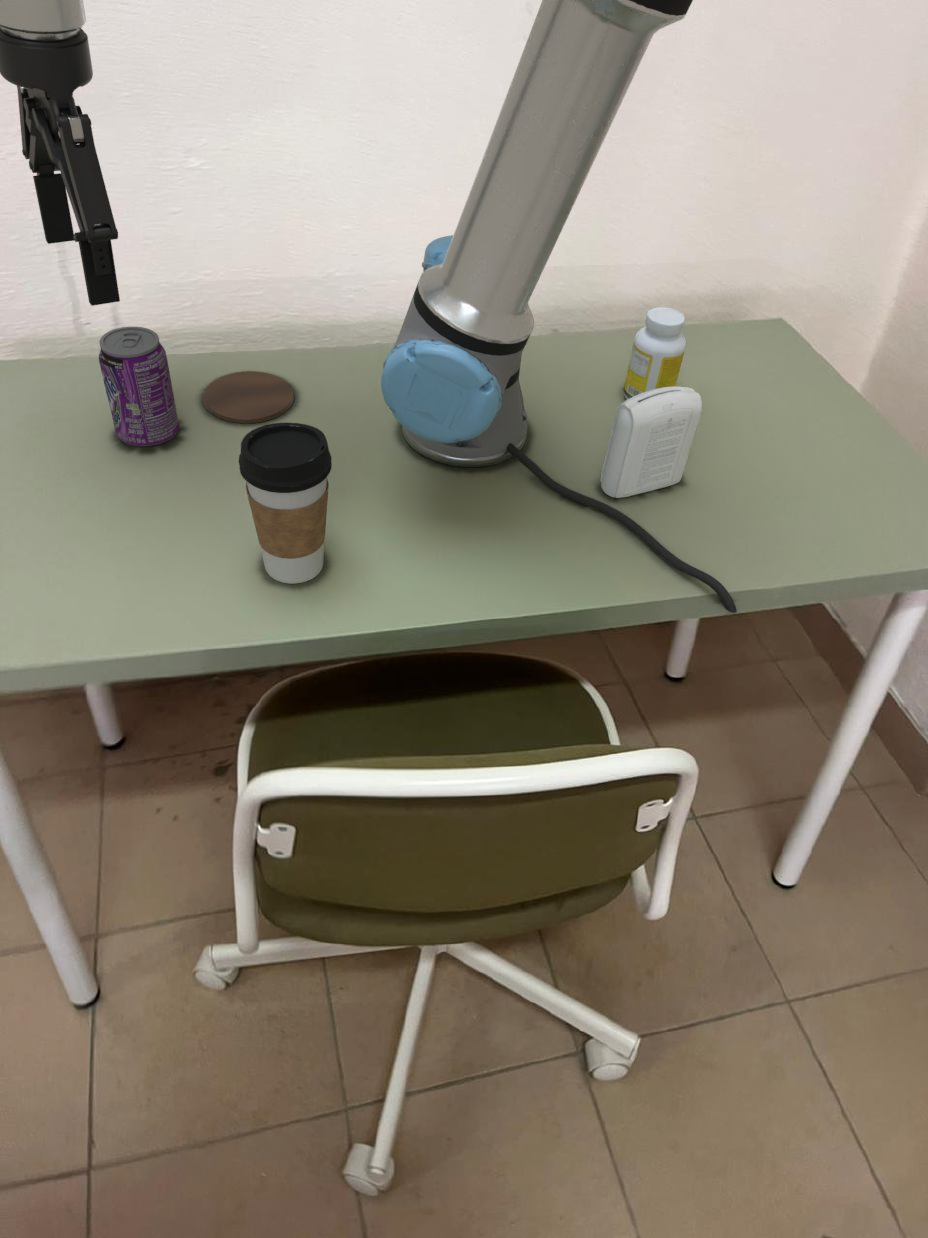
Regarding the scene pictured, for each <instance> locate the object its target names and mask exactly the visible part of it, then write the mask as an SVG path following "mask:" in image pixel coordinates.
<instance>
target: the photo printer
mask: <svg viewBox="0 0 928 1238" xmlns="http://www.w3.org/2000/svg"><path fill="white" fill-rule="evenodd" d="M702 413H703V402H702V397H701V395H700V393H698V392H696V391H695V390H694V388H691V387H687V386H678V385H676V386H675V387H663V388H658V389H653V390H650V391H647V392H644V393H641V394H638V395H636V396H634V397H632V398H630V399H628V400H627V399H626V400H624V401H623V402H621V403H620V404H619V405H618V406H617V408H616V410H615V412H614V416H613V420H612V425H611V429H610V433H609V437H608V441H607V446H606V451H605V454H604V459H603V463H602V468H601V473H600V479H599V481H600V482H601V483H600V487H601V490H602V491H603V492H604V493H605V494H606V495H607V496H609V497H610V498H611V497H612V498H616V499H622V498H627V497H631V496H637V495H639V494H644V493H648V492H651V491H655V490H659V489H663V488H666V487H670V486H673V485H676V484H678V483H680V481H681V480H682V478H683V476H684V472H685V469H686V466H687V465H686V464H687V461H688V458H689V455H690V451H691V448H692V445H693V442H694V439H695V436H696V432H697V429H698V425H699V423H700V419H701V416H702Z"/></svg>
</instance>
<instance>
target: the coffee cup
mask: <svg viewBox="0 0 928 1238" xmlns="http://www.w3.org/2000/svg"><path fill="white" fill-rule="evenodd" d="M332 462H333V461H332V455H331V452H330V447H329V443H328V440H327V437H326V435H325V433H324V432H323V431H322V430H321V429H319V428H318V427H315V426H312V425H309V424H305V423H299V422H273V423H267V424H264V425H260V426H259V427H255V428H254V429H252V430H250V431H249V432H248V433H247V434H246V435H245V436H244V437H243V438H242V440H241V442H240V453H239V456H238V465H239V473H240V475H241V476H242V479H244V480H245V481H246V482H245V491H246V495H247V499H248V503H249V507H250V510H251V511H250V512H251V515H252V519H253V523H254V528H255V531H256V536H257V540H258V544H259V546H260V551H261V555H262V560H263V565H264V569H265V572H266V573H267V575H269V577H270V578H271V579H273V580H274V581H277V582H279V583H282V584H290V585H292V584H294V585H295V584H302V583H306V582H308V581H310V580H313V579H314V578H316V577H317V576H318V575H319V574H320V573H321V571H322V570H323V567H324V557H325V556H324V555H325V539H326V530H327V529H326V526H327V514H328V500H329V488H330V487H329V486H330V482H329V479H328V476H329V475H330V473H331V471H332V465H333V463H332Z"/></svg>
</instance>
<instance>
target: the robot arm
mask: <svg viewBox="0 0 928 1238" xmlns="http://www.w3.org/2000/svg"><path fill="white" fill-rule="evenodd" d="M693 1H694V0H541V2H540V5H539V8H538V11H537V14H536V16H535V19H534V21H533V24H532V26H531V29H530V32H529V35H528V37H527V40H526V43H525V45H524V47H523V50H522V53H521V56H520V59H519V61H518V63H517V66H516V69H515V72H514V74H513V77H512V79H511V82H510V85H509V88H508V90H507V92H506V95H505V98H504V100H503V104H502V107H501V108H500V111H499V114H498V116H497V119H496V122H495V125H494V127H493V130H492V132H491V134H490V138H489V140H488V143H487V145H486V148H485V151H484V153H483V156H482V159H481V161H480V164H479V167H478V169H477V172H476V175H475V177H474V180H473V182H472V185H471V188H470V191H469V194H468V196H467V197H466V198H467V199H466V201H465V204H464V206H463V209H462V212H461V215H460V217H459V219H458V222H457V225H456V227H455V230H454V233H453V235H445V236H440V237H438V238H435V239H433V240H432V241H431V242H430V243H428V244H427V245H426V247H425V249H424V255H423V261H422V262H421V268H422V269H423V271H422V273H421V275H420V277H419V278H418V282H417V284H416V287H415V290H414V291H413V295H412V298H411V301H410V303H409V306H408V309H407V311H406V315H405V317H404V319H403V323H402V326H401V328H400V330H399V333H398V336H397V338H396V341H395V343H394V344H393V348H392V349H391V350H390V351H389V352H388V353H387V355H386V357H385V359H384V361H383V366H382V373H381V377H380V378H381V379H380V388H381V394H382V398H383V400H384V403H385V405H386V406H387V407H388V409H389V410H390V412H391V414H392V416H393V417H394V419H395V420H396V421H397V422H398V423H399V424H401V425H402V428H401V429H402V434H403V437H404V439H405V441H406V442H407V443H408V445H409V446H410V447H411V448H412V449H413V450H415V452H417V453H418V454H420V455H422V456H423V457H425V458H428V459H429V460H432V461H434V462H437V463H440V464H443V465H448V466H453V467H459V468H460V467H461V468H481V467H488V466H493V465H496V464H500V463H503V462H505V461H507V460H510V459H511V458H513V457H514V458H515V459H516V460H517V461H519V462H520V463H521V464H522V465H523V466H524V467H526V468H527V469H528V470H529V471H530V472H531V473H532V474H533V475H534V476H535V477H536V478H537V479H538V480H539V481H540V482H541V483H542V484H544V485H545V486H546V487H548V488H549V489H551V490H552V491H554V492H555V493H558V494H559V495H560V496H563V497H565V498H567V499H570V500H572V501H574V502H577V503H579V504H582V505H584V506H587V507H589V508H592V509H594V510H597V511H598V512H601V513H603V514H605V515H607V516H609V517H611V518H613V519H614V520H615V521H617V522H618V523H621V524H622V525H623V526H624V527H626V528H627V529H629V530H630V531H631V532H632V533H633V534H635V535H636V536H637V537H638V538H639V539H640V540H642V541H643V542H644V543H645V544H646V545H647V546H648V547H649V548H650V549H652V550H653V551H654V552H655V553H656V554H658V556H659V557H660V558H662V559H663V560H664V561H666V562H667V563H668V564H669V565H671V566H672V567H673V568H675V569H676V570H678V571H680V572H682V573H684V574H685V575H688V576H690V577H692V578H694V579H696V580H697V581H700V582H701V583H703V584H705V585H706V586H708V587H710V588H711V590H713V591H714V592H715V594H716V595H717V596H718V597H719V599H720V600H721V602H722V604H723V605H724V608H725V609H726V610H727V611H728V612H729V613H733V614H736V613H737V612H738V611H737V609H738V608H737V606H736V603H735V601H734V599H733V597H732V595H731V594H730V592H729V591H728V590H727V589H726V587H725V586H724V585H723V584H722V582H720V581H719V580H717V578H715V577H713V576H712V575H710V574H709V573H707V572H705V571H703V570H700V569H699V568H696V567H694V566H693V565H691V564H689V563H686V562H685V561H683V560H681V558H679V557H677V556H676V555H674V553H672V552H671V551H669V549H667V548H666V547H665V546H664V545H662V543H660V542H659V541H658V540H657V539H656V538H655V537H654V536H652V535H651V534H650V533H649V532H648V531H647V530H646V529H645V528H643V526H641V525H640V524H639V523H637V522H636V521H635V520H633V519H632V518H630V517H629V516H628V515H626V514H624V512H622V511H620V510H618V509H616V508H615V507H613V506H611V505H608V504H606V503H604V502H602V501H600V500H597V499H595V498H592V497H590V496H588V495H585V494H582V493H580V492H577V491H574V490H572V489H570V488H568V487H566V486H564V485H562V484H561V483H560V482H557V481H556V480H554V479H553V478H552V477H550V475H548V473H546V472H544V470H543V469H542V468H541V467H540V466H538V464H537V463H535V461H533V460H532V459H531V458H530V457H529V456H527V454H525V453H524V452H523V451H521V450H522V449H523V447H524V446H525V444H526V440H527V435H528V415H527V411H526V408H525V403H524V397H523V392H522V388H521V383H520V372H521V363H522V357H523V356H522V355H523V352H524V349H525V347H526V345H527V343H528V341H529V339H530V337H531V335H532V333H533V331H534V328H535V318H534V315H533V312H532V310H531V308H530V305H529V301H530V300H531V297H532V295H533V293H534V291H535V289H536V286H537V284H538V283H539V281H540V278H541V276H542V274H543V272H544V269H545V268H546V265H547V263H548V261H549V259H550V256H551V254H552V253H553V251H554V248H555V246H556V244H557V241H558V240H559V238H560V235H561V233H562V231H563V229H564V227H565V224H566V222H567V220H568V219H569V216H570V214H571V212H572V209H573V208H574V205H575V204H576V201H577V199H578V197H579V195H580V193H581V190H582V189H583V186H584V185H585V182H586V179H587V177H588V175H589V174H590V172H591V169H592V168H593V165H594V162H595V160H596V158H597V157H598V154H599V152H600V151H601V148H602V146H603V143H604V142H605V139H606V137H607V135H608V134H609V131H610V128H611V126H612V124H613V122H614V120H615V118H616V116H617V114H618V111H619V109H620V107H621V105H622V103H623V101H624V99H625V96H626V94H627V92H628V90H629V88H630V86H631V84H632V82H633V79H634V77H635V75H636V74H637V70H638V69H639V67H640V64H641V62H642V60H643V58H644V56H645V54H646V52H647V50H648V47H649V45H650V43H651V41H652V39H653V36H654V35H655V34H656V33H657V32H659V31H660V30H662V29H663V28H666V27H668V26H671V25H673V24H675V23H677V22H680V21H682V20H684V19H685V17H686V15H687V13H688V11H689V9H690V7H691V6H692V3H693ZM85 11H86V10H85V3H84V0H0V76H1V77H3V79H5V81H7V82H9V83H10V84H13V85H15V86H16V88H17V100H18V110H19V111H18V112H19V113H18V114H19V124H20V125H19V126H20V135H21V147H22V149H21V153H22V155H23V156H24V159H25V160H28V167H29V169H30V170H31V173H33V174H36V175H32V178H33V182H34V187H35V188H34V189H35V193H36V199H37V203H38V206H39V207H38V209H39V213H40V217H41V223H42V228H43V232H44V238H45V241H46V243H47V244H48V245H51V244H58V243H66V242H75V243H78V247H79V253H80V259H81V264H82V269H83V276H84V281H85V286H86V293H87V299H88V303H89V304H90V306H92V307H94V306H98V305H99V306H100V305H106V304H111V303H112V304H113V303H119V302H121V298H120V293H119V292H120V291H119V285H118V278H117V272H116V265H115V259H114V258H115V257H114V253H113V245H112V244H113V243H112V240H118V238H119V231H118V228H117V225H116V222H115V218H114V214H113V211H112V207H111V206H112V205H111V203H110V198H109V195H108V190H107V187H106V183H105V180H104V175H103V172H102V168H101V164H100V161H99V157H98V154H97V148H96V146H95V140H94V134H93V129H92V128H93V127H92V120H91V118H90V117H89V114H88V113H83V111H82V108H81V105H76V101H75V98H74V92H75V91H76V90H77V89H78V88H79V87H86V86H87V85H88V84H89V83H90V82H91V81H92V80H93V77H94V71H93V65H92V64H93V63H92V56H91V50H90V45H89V36H88V34H87V33H86V32H85V31H84V30H83V26H84V25H85V24H86V22H87V16H86V12H85ZM55 172H60V173H55ZM69 202H70V205H71V208H72V211H73V214H74V217H75V221H76V223H77V227H78V229H79V231H78V232H74V226H73V221H72V215H71V210H70V205H69Z"/></svg>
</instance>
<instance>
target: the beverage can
mask: <svg viewBox="0 0 928 1238" xmlns="http://www.w3.org/2000/svg"><path fill="white" fill-rule="evenodd" d="M99 347H100V350H99V354H98V362H99V367H100V371H101V372H100V373H101V376H102V380H103V385H104V388H105V392H106V397H107V401H108V407H109V409H110V412H111V413H110V414H111V418H112V422H113V423H112V424H113V427H114V431H115V434H116V437H117V438H118V439H119V440H120V441H122V442H124V443H125V444H127V445H130V446H131V445H132V446H136V447H151V446H152V447H153V446H156V445H160V444H163V443H165V442H168V441H169V440H171V439H173V438H174V437H175V436H176V435H177V433H178V432H179V430H180V422H179V418H178V412H177V405H176V400H175V395H174V389H173V384H172V383H173V382H172V379H171V374H170V368H169V367H170V366H169V361H168V356H167V352H166V349H165V348H164V346H163V345H162V344H161V342H160V336H159V335H158V333H157V332H155V331H154V330H152V329H150V328H147V327H143V326H123V327H118V328H115V329H110V330H109V331H107V332H106V333H104V334H103V335H102V336H101V337H100V339H99Z"/></svg>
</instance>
